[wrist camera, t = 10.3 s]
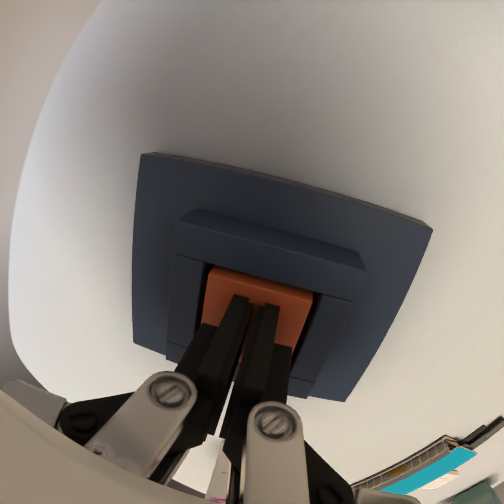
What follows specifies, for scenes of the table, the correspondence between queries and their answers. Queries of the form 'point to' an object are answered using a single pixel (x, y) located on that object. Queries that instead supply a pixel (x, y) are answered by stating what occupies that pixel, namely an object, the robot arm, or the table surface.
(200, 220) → the stepped blue base
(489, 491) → the flower pot
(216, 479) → the ink box
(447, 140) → the table surface
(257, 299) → the orange block
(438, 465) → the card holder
